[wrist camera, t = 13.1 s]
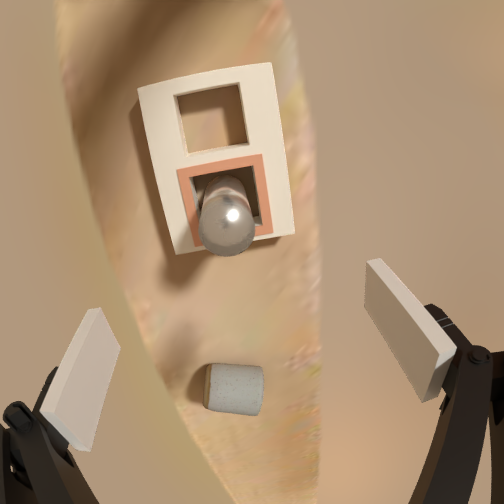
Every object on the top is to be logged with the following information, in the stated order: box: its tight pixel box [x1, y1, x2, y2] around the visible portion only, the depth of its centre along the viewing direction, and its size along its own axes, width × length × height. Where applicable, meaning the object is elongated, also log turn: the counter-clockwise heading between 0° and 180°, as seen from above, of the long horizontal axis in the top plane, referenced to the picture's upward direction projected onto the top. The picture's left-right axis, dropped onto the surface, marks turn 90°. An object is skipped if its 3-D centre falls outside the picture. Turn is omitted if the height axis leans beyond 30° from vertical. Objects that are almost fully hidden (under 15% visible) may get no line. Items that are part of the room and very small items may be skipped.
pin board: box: [137, 62, 295, 255], centre depth 31 cm, size 18×13×3 cm
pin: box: [198, 175, 255, 256], centre depth 29 cm, size 4×4×11 cm
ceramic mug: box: [203, 363, 264, 416], centre depth 43 cm, size 11×8×8 cm
